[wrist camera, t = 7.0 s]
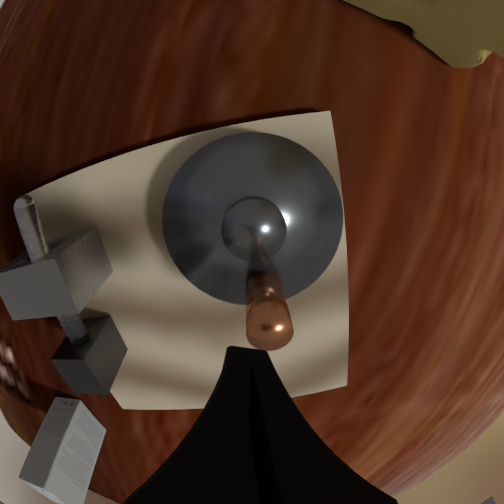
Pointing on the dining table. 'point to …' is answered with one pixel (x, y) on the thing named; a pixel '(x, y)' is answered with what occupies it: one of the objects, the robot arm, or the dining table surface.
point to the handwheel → (253, 226)
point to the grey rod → (76, 324)
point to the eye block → (56, 277)
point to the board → (179, 288)
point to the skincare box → (64, 452)
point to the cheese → (448, 26)
